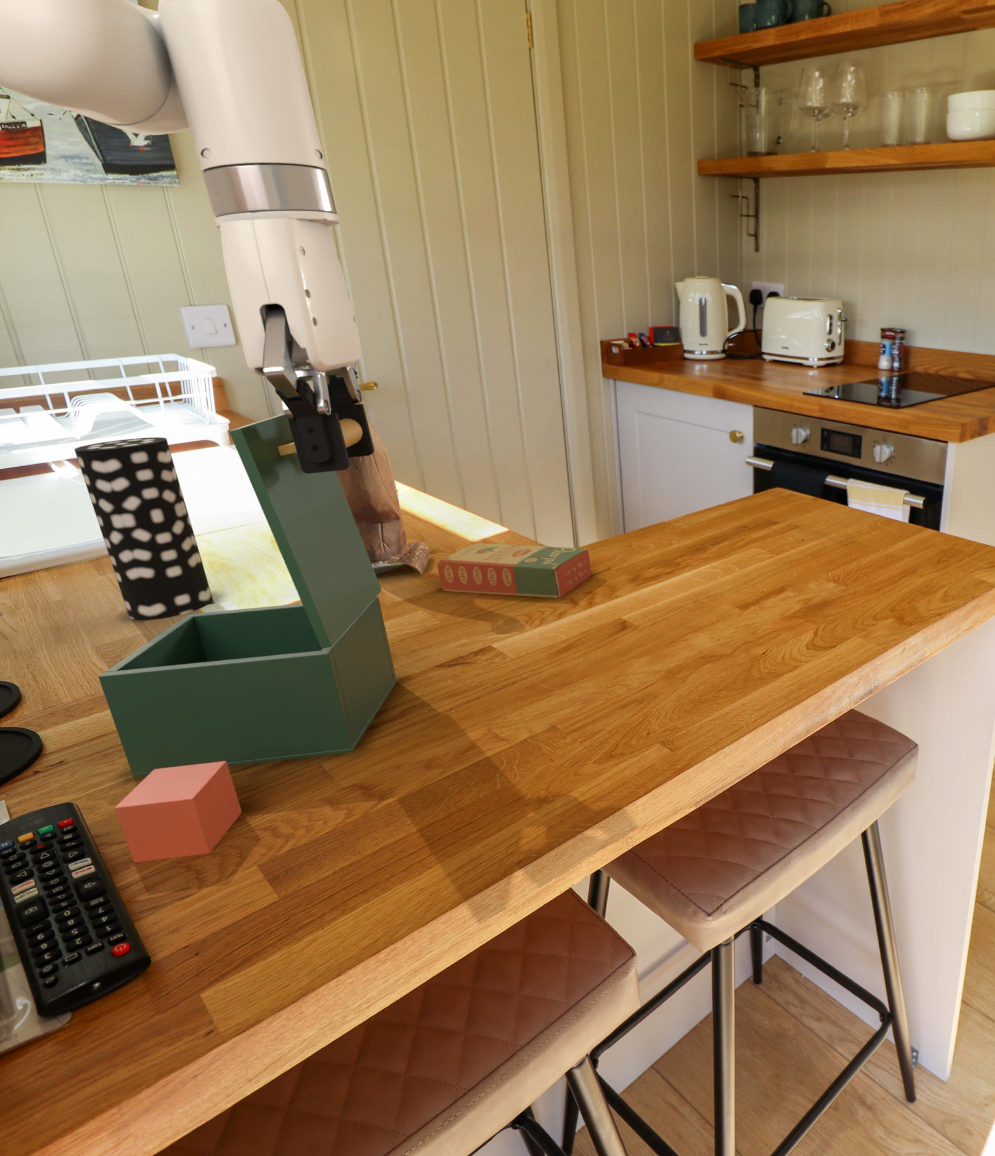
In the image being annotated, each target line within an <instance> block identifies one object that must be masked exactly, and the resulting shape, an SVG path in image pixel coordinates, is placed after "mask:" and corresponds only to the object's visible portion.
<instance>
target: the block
mask: <svg viewBox="0 0 995 1156" xmlns="http://www.w3.org/2000/svg"><path fill="white" fill-rule="evenodd" d="M233 781H234V780H233V778H232V775H231V772H230V768H229V766H228V765H227V761H222V762H213V763H204V764H196V765H187V766H178V767H169V768H161V769H154V770H153V771H152V772H151V773H150V774H149V775H148V776H145V778H143V779H142V780H141V781H140V782H139V783H138V784H137V785H136V786H135V787H134V788H133V789H132V790H131V791H130V792H129V793H128V794H127V795H125V797H124V798H123V799H122V800H121V801H120V802H119V803H118V804H116V806H115V807H114V808H113V809H114V812H115V814H116V817H117V820H118V823H119V825H120V828H121V832H122V833H123V837H124V839H125V842H126V845H127V848H128V850H129V853H130V856H131V859H132V861H133V863H143V862H149V861H158V860H167V859H173V858H181V857H183V858H184V857H189V856H190V857H191V856H197V855H204V854H205V855H207V854H210V853H212V852H213V850H214V849H215V847H216V846H217V845H218V844H219V842H220V841H221V840H222V838H223V837H224V836H225V835H226V834H227V832H228V831H229V829H230V828H231V827H232V825H233V824H234V823H235V822H236V820H237V819H238V818H239V817H240V816H241V814H242V812H243V811H242V807H241V805H240V801H239V798H238V795H237V794H238V793H237V792H236V788H235V785H234V782H233Z"/></svg>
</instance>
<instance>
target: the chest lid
mask: <svg viewBox="0 0 995 1156" xmlns="http://www.w3.org/2000/svg"><path fill="white" fill-rule="evenodd" d="M339 421H340V425H341V429H342V433H343V437H344V441H345V445H346V448H347V447H349V446H351V445H353V444H355V443H357V442H358V441H360V439H361V438H362V434H363V432H362V428H361V426H360V425H359V423H358V422H356V421H355V420H353V419H348V418H346V419H342V420H339ZM228 433H229V435H230V437H231V440H232V442H233V445H234V446H235V449H236V451H237V453H238V457H239V458H240V461H241V463H242V465H243V468H244V470H245V472H246V475H247V478H248V480H249V482H250V484H251V487H252V489H253V492H254V494H255V496H256V498H257V501H258V503H259V505H260V508H261V509H262V513H263V515H264V518H265V519H266V522H267V524H268V526H269V529H270V531H271V533H272V536H273V538H274V541H275V543H276V545H277V548H278V550H279V552H280V555H281V557H282V559H283V562H284V565H285V567H286V569H287V571H288V573H289V576H290V579H291V580H292V583H293V585H294V587H295V590H296V593H297V596H298V597H299V599H300V602H301V604H303V606H304V609H305V611H306V613H307V616H308V618H309V620H310V623H311V625H312V628H313V630H314V632H315V635H316V637H317V639H318V642H319V644H320V646H321V648H322V649H323V648H328V647H332V646H333V645H334V643H335V642H336V641H337V640H338V639H339V638H340V637H341V636H342V634H343V633H344V632H345V631H346V630H347V629H348V628H349V627H350V625H351V624H352V623H353V622H354V621H355V620H356V619H357V618H358V616H359V615H360V614H361V613H362V612H363V611H364V610H365V609H366V607H367V606H368V605H369V604H370V603H371V602H372V601H373V599H374V598H375V597H378V595H379V594H380V593H381V592H382V587H381V584H380V582H379V579H378V577H377V575H376V572H375V570H374V565H373V566H372V564H371V561H370V559H369V556H368V553H367V551H366V548H365V546H364V543H363V540H362V538H361V535H360V533H359V530H358V528H357V525H356V522H355V520H354V517H353V515H352V512H351V509H350V507H349V504H348V502H347V499H346V497H345V494H344V491H343V489H342V486H341V484H340V481H339V479H338V476H337V473H336V471H329V472H320V473H310V474H307V473H304V472H303V471H302V469H301V466H300V462H299V458H298V455H297V451H296V447H295V444H294V440H293V436H292V432H291V429H290V425H289V421H288V419H287V418H286V417H285V415H284V413H280V414H277V415H275V416H274V415H273V416H271V417H269V418H266V419H262V420H259V421H256V422H252V423H249V424H246V425H244V426H240V427H237V428H234V429H231V430H229V431H228Z"/></svg>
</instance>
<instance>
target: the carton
mask: <svg viewBox="0 0 995 1156" xmlns="http://www.w3.org/2000/svg"><path fill="white" fill-rule="evenodd" d="M590 559H591V558H590V553H589V550H588V548H585V547H564V546H563V547H561V546H545V545H544V546H543V545H542V546H541V545H525V544H523V545H520V544H503V543H485V542H483V543H482V542H481V543H480V542H476V543H473V544H471V545H470V546H466V547H464V548H462V549H460V550H458V551H456V552H454V553H452V554H450V555H448V556H446V557H444V558H442V559H440V560H438V561H437V570H438V577H439V582H440V587H441V590H442V591H444V592H459V593H476V594H490V595H492V594H493V595H506V596H522V597H523V596H525V597H537V598H538V597H539V598H550V599H551V598H553V599H558V598H561V597H563V596H564V595H565V594H567V593H569V592H570V591H572V590H573V589H574V588H575V587H577V586H579V585H580V584H581V583H582V582H584V581H586V580H587V579H588V578H590V577H591V576H592V568H591V567H592V566H591V560H590Z"/></svg>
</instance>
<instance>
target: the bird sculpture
mask: <svg viewBox="0 0 995 1156" xmlns="http://www.w3.org/2000/svg"><path fill="white" fill-rule="evenodd" d="M357 381H358V384H359V385H360V383H359V380H358V379H357ZM359 404H363V405H364V406H365V404H364V401H362V403H359ZM364 409H365V407H364ZM365 410H366V409H365ZM365 413H366V417H367V421H368V426H369V430H370V434H371V438H372V442H373V446H374V453H373V454H371V455H369V456H361V457H351V458H349V461H350V466H349V467H348V468H347V469H345V470H339V471H336V473H337V476H338V479H339V481H340V484H341V486H342V489H343V491H344V494H345V497H346V499H347V502H348V504H349V507H350V509H351V512H352V515H353V517H354V520H355V522H356V525H357V528H358V530H359V533H360V535H361V538H362V540H363V543H364V546H365V548H366V551H367V553H368V556H369V559H370V561H371V564H372V566H373V567H378V566H380V565H396V564H405V565H406V566H410V567H412V568H413V569H414V570H416V571H417V572H418V573H419V574H420V575H421V576H423V574H424V572H425V571H426V568H427V565H428V563H429V560H430V556H431V555H430V550H429V548H428V546H427V545H426V544H425V543H424V542H421V541H417V542H408V541H407V536H406V535H407V534H406V530H405V526H404V521H403V517H402V512H401V507H400V500H399V495H398V491H397V487H396V482H395V478H394V472H393V468H392V463H391V460H390V455H389V451H388V449H387V447H386V445H385V443H384V440H382V438H381V436H380V435H379V433H378V432H377V430H376V429H375V426H374V425H373V424H372V422H371V421H370V420H369V418H368V415H367V412H366V411H365Z"/></svg>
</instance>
